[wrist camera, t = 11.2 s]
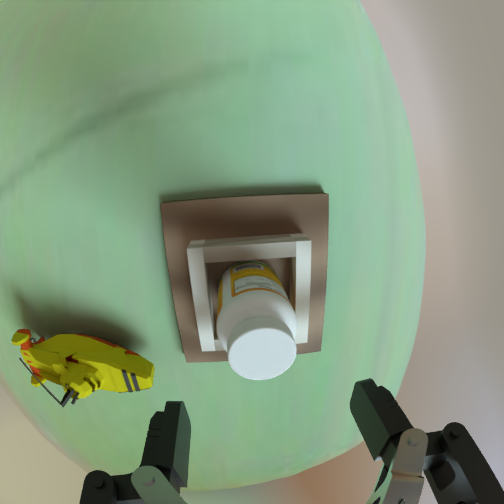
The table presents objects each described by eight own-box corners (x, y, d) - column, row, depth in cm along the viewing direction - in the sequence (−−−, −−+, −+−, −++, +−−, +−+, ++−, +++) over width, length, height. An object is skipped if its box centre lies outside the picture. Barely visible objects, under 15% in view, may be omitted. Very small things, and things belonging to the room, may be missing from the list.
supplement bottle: (249, 324, 25) (262, 399, 16) (205, 289, 24) (195, 359, 14) (291, 285, 24) (326, 349, 15) (248, 245, 23) (263, 297, 14)
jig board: (163, 202, 22) (152, 207, 19) (324, 192, 23) (339, 196, 20) (187, 356, 27) (183, 378, 23) (318, 345, 28) (327, 365, 24)
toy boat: (29, 315, 24) (-16, 357, 15) (155, 328, 26) (128, 397, 16) (44, 356, 26) (9, 402, 17) (164, 374, 28) (148, 443, 18)
